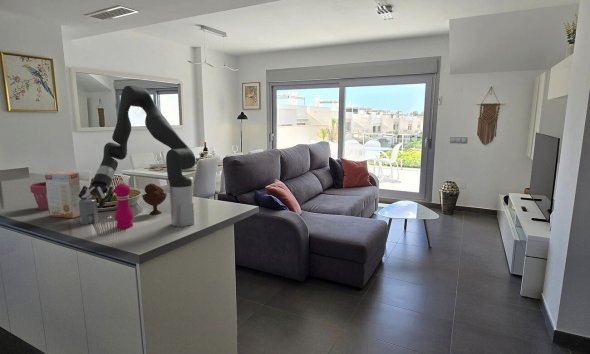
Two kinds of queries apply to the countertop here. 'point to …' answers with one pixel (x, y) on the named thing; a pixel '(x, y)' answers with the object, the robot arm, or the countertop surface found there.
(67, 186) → the cracker box
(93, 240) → the countertop surface
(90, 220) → the mint green cube
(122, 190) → the pepper mill
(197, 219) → the countertop surface
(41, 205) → the plant pot
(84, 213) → the charcoal cup
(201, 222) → the countertop surface
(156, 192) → the ice cream bowl
